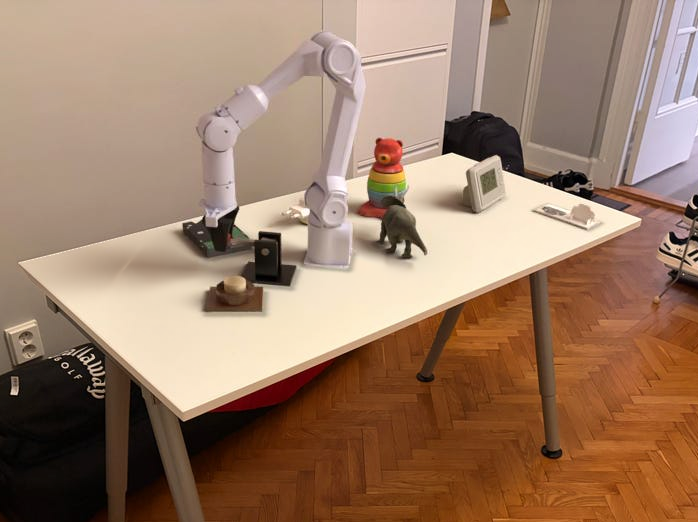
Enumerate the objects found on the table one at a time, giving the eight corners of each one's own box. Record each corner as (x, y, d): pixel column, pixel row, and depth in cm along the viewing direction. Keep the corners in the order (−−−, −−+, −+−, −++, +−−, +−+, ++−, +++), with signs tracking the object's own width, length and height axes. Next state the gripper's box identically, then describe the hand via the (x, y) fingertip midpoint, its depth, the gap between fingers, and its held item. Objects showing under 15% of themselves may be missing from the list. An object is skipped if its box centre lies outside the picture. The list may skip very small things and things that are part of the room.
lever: (212, 247, 140) (212, 232, 138) (216, 241, 143) (216, 226, 141) (273, 257, 140) (274, 242, 138) (276, 250, 143) (277, 235, 141)
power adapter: (293, 233, 163) (293, 208, 160) (279, 226, 165) (278, 202, 162) (328, 220, 170) (329, 197, 167) (314, 214, 172) (314, 191, 169)
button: (246, 284, 135) (246, 275, 134) (245, 294, 132) (245, 285, 131) (225, 284, 135) (224, 275, 134) (223, 294, 132) (223, 285, 131)
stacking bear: (355, 214, 174) (359, 141, 164) (371, 201, 182) (375, 130, 172) (397, 223, 171) (403, 149, 161) (411, 209, 179) (418, 137, 169)
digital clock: (476, 215, 177) (482, 174, 171) (448, 204, 183) (453, 163, 177) (515, 201, 187) (522, 161, 181) (487, 191, 192) (493, 151, 186)
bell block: (263, 293, 139) (262, 277, 137) (262, 314, 132) (261, 297, 130) (210, 293, 138) (209, 276, 136) (207, 314, 131) (205, 297, 129)
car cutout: (600, 222, 178) (604, 205, 176) (587, 229, 174) (591, 212, 171) (547, 204, 186) (551, 188, 184) (534, 211, 182) (537, 194, 180)
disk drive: (182, 234, 159) (208, 260, 149) (180, 223, 158) (207, 248, 148) (225, 226, 164) (254, 251, 154) (224, 214, 163) (253, 238, 152)
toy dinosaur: (428, 271, 151) (434, 221, 144) (389, 273, 149) (393, 222, 143) (402, 228, 168) (406, 182, 162) (367, 230, 167) (370, 183, 160)
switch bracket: (239, 284, 141) (237, 243, 136) (248, 266, 148) (246, 226, 143) (290, 288, 141) (289, 247, 136) (296, 270, 148) (296, 230, 143)
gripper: (208, 165, 140) (212, 230, 148) (186, 192, 128) (192, 261, 136) (243, 168, 140) (246, 233, 147) (225, 195, 128) (229, 264, 135)
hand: (223, 246), depth 142 cm, fingers closed on lever, 3 cm apart
